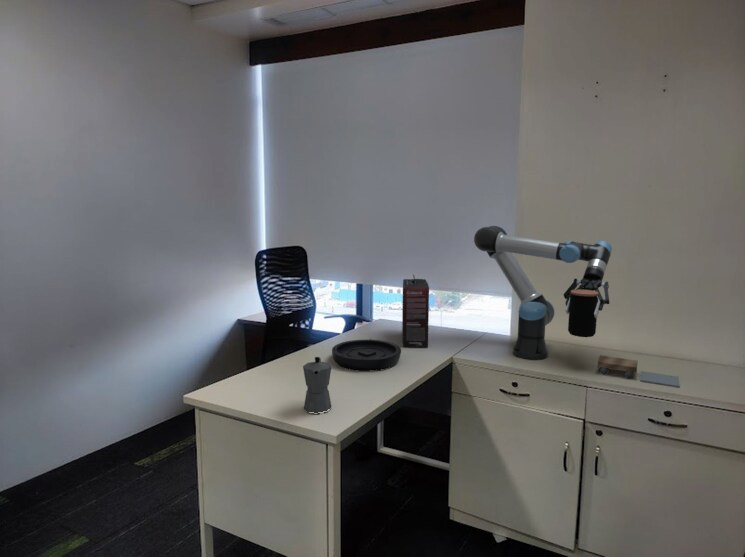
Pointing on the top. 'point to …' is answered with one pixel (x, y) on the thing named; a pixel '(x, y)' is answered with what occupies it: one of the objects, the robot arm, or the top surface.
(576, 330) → the coffee jar
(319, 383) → the coffeepot
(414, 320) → the headset box
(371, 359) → the round tray
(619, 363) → the brown toy cart
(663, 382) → the pad
